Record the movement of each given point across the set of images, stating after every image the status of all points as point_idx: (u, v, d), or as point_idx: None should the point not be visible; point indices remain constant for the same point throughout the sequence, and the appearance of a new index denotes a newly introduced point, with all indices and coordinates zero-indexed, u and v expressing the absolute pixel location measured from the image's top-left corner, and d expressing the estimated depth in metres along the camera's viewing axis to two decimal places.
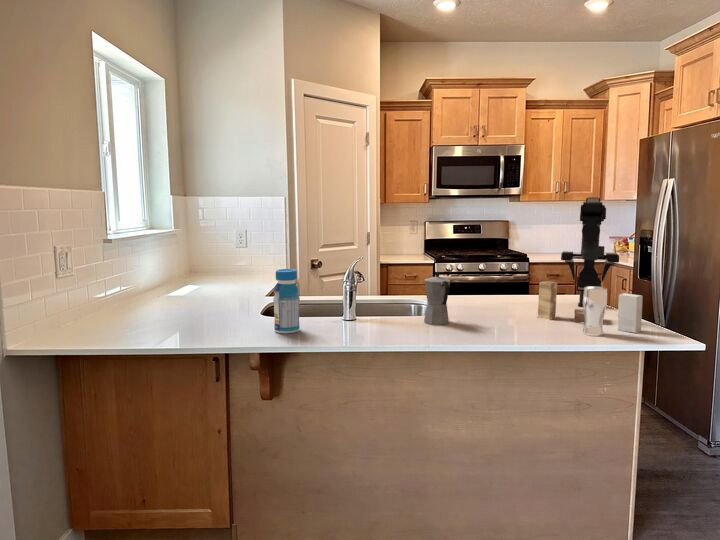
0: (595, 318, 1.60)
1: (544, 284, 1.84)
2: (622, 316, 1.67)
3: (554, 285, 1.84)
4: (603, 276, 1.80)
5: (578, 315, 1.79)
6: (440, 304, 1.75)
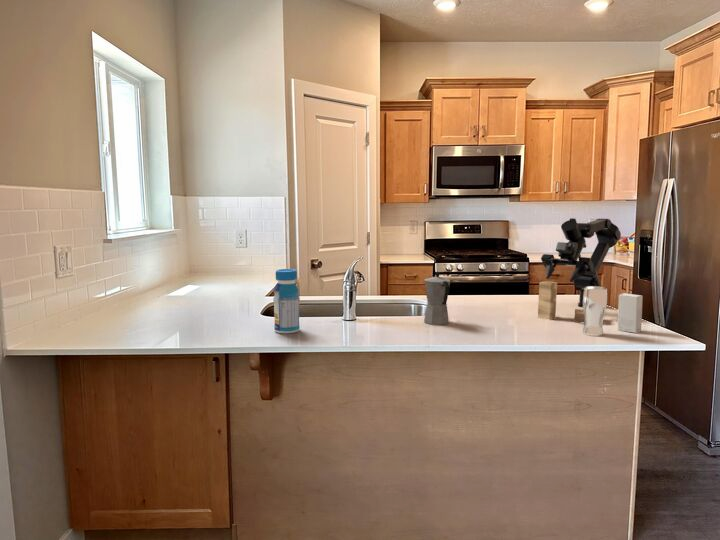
0: (595, 318, 1.60)
1: (544, 284, 1.84)
2: (622, 316, 1.67)
3: (554, 285, 1.84)
4: (572, 275, 1.87)
5: (578, 315, 1.79)
6: (440, 304, 1.75)
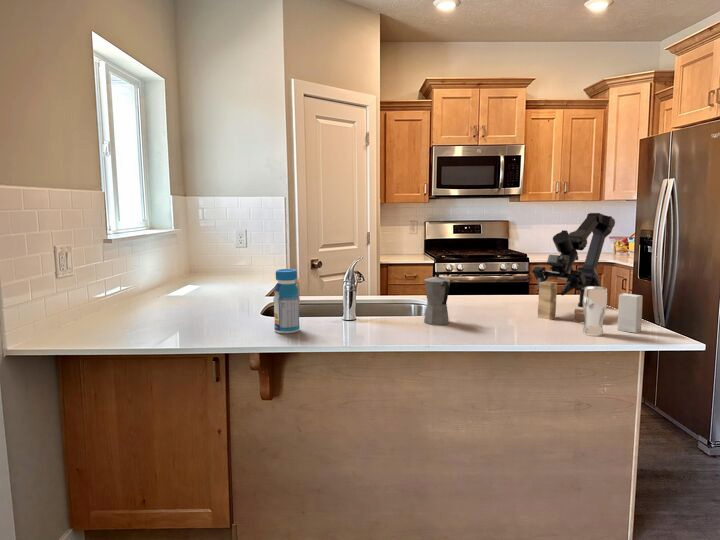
0: (595, 318, 1.60)
1: (544, 284, 1.84)
2: (622, 316, 1.67)
3: (554, 285, 1.84)
4: (563, 289, 1.83)
5: (578, 315, 1.79)
6: (440, 304, 1.75)
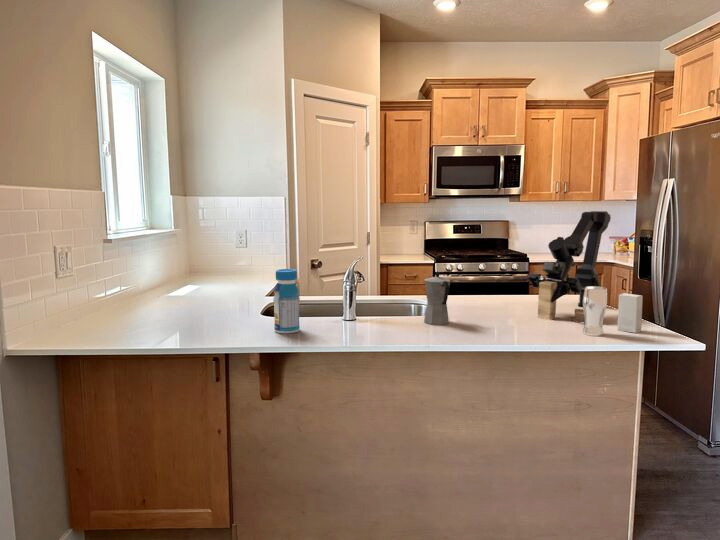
0: (595, 318, 1.60)
1: (544, 284, 1.84)
2: (622, 316, 1.67)
3: (554, 285, 1.84)
4: (553, 295, 1.83)
5: (578, 315, 1.79)
6: (440, 304, 1.75)
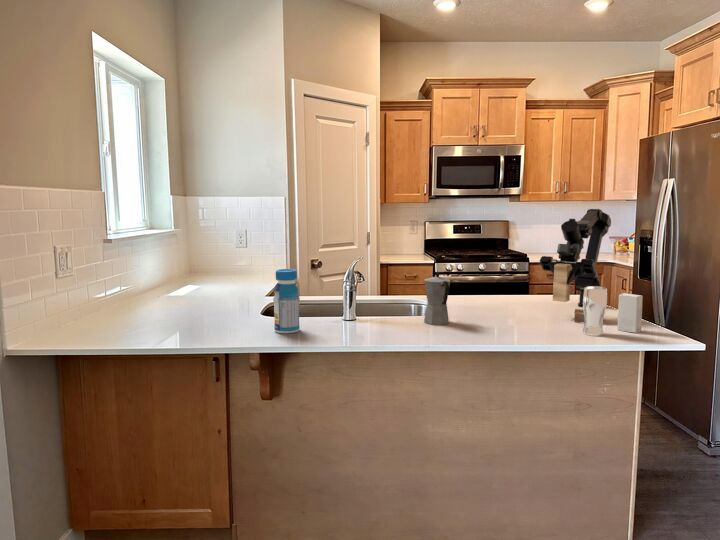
0: (595, 318, 1.60)
1: (559, 266, 1.82)
2: (622, 316, 1.67)
3: (569, 267, 1.82)
4: (569, 278, 1.81)
5: (578, 315, 1.79)
6: (440, 304, 1.75)
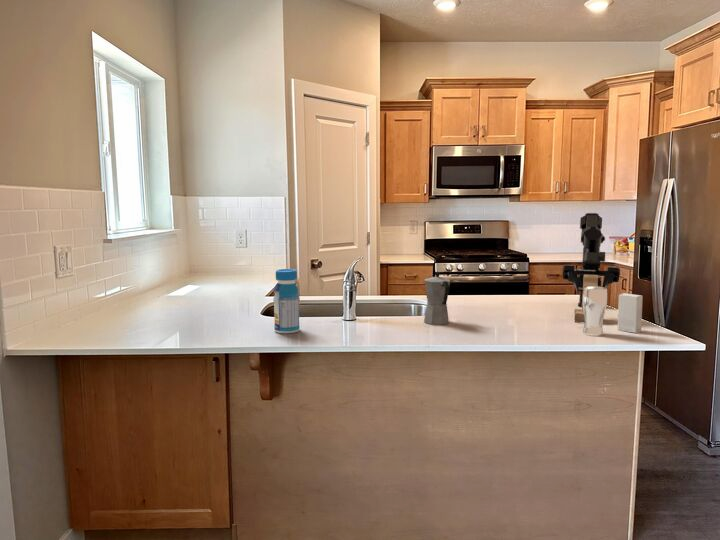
0: (595, 318, 1.60)
1: (590, 277, 1.78)
2: (622, 316, 1.67)
3: None
4: None
5: (578, 315, 1.79)
6: (440, 304, 1.75)
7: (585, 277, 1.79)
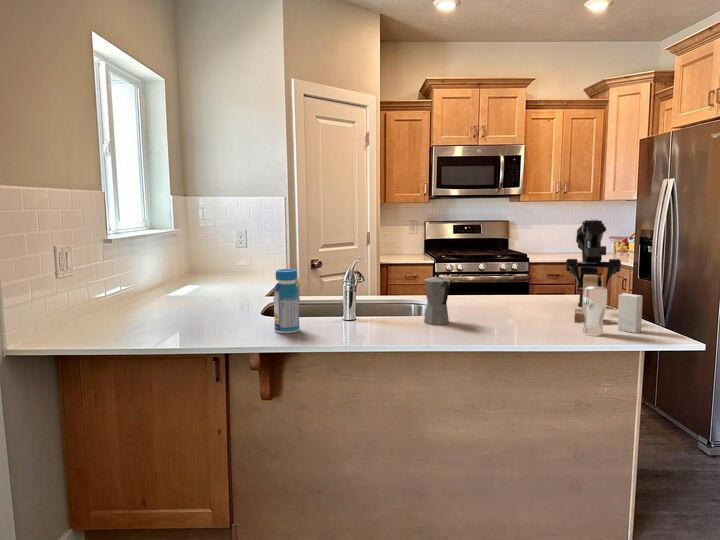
0: (595, 318, 1.60)
1: (590, 277, 1.78)
2: (622, 316, 1.67)
3: None
4: (607, 280, 1.87)
5: (578, 315, 1.79)
6: (440, 304, 1.75)
7: (585, 277, 1.79)
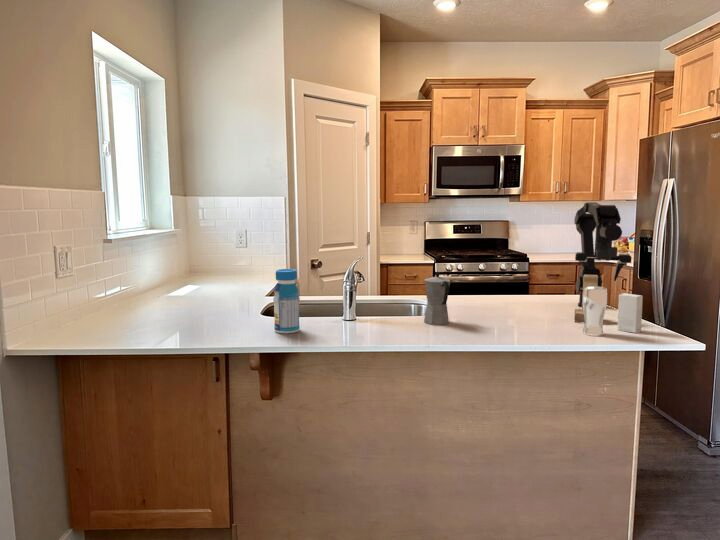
0: (595, 318, 1.60)
1: (590, 277, 1.78)
2: (622, 316, 1.67)
3: None
4: (616, 276, 1.88)
5: (578, 315, 1.79)
6: (440, 304, 1.75)
7: (585, 277, 1.79)
